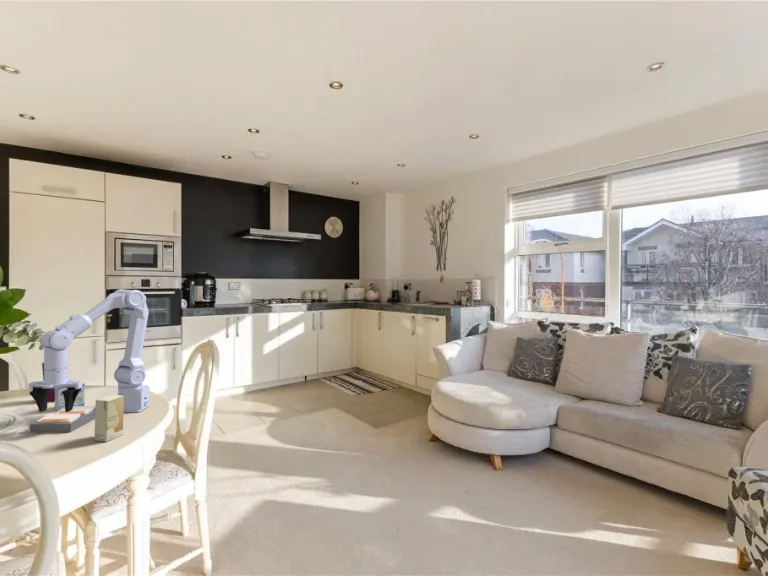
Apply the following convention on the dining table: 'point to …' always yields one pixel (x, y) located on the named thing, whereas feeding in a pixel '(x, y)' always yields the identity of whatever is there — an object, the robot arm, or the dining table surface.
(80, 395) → the medicine box
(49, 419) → the rocker
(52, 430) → the grey divided tray
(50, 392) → the cup
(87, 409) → the orange-striped cream panel
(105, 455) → the dining table surface
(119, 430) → the skincare box
